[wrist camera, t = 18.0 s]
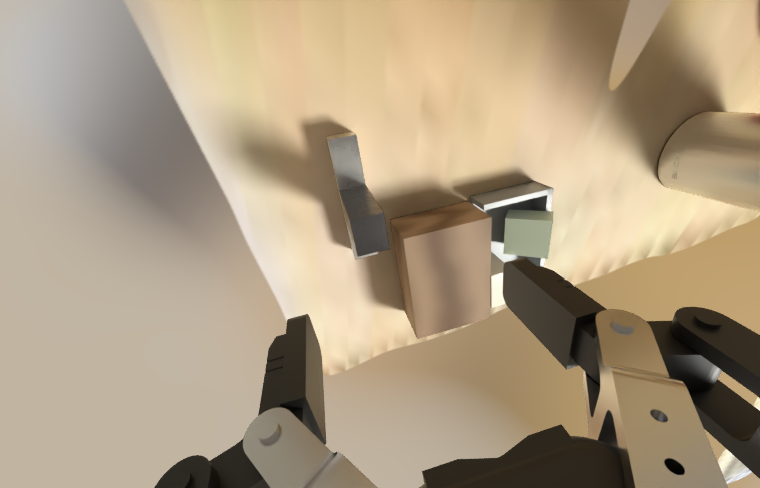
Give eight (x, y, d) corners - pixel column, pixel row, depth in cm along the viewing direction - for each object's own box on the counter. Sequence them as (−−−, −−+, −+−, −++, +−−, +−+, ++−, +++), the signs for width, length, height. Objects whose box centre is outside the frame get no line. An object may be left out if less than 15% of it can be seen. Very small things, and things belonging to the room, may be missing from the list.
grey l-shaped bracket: (352, 131, 28) (373, 148, 20) (373, 243, 34) (397, 295, 25) (325, 136, 28) (334, 156, 19) (351, 248, 34) (368, 303, 25)
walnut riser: (467, 201, 34) (491, 217, 30) (470, 293, 40) (490, 317, 36) (390, 219, 33) (403, 239, 29) (404, 311, 39) (417, 338, 35)
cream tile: (471, 256, 37) (490, 250, 37) (472, 286, 39) (490, 280, 39) (491, 275, 33) (512, 269, 33) (491, 307, 35) (511, 301, 35)
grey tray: (534, 180, 35) (553, 188, 32) (526, 280, 41) (541, 293, 39) (470, 196, 34) (483, 205, 31) (472, 295, 40) (483, 309, 38)
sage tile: (505, 218, 33) (508, 209, 35) (503, 253, 35) (506, 243, 37) (552, 221, 31) (553, 211, 33) (547, 258, 33) (548, 247, 35)
